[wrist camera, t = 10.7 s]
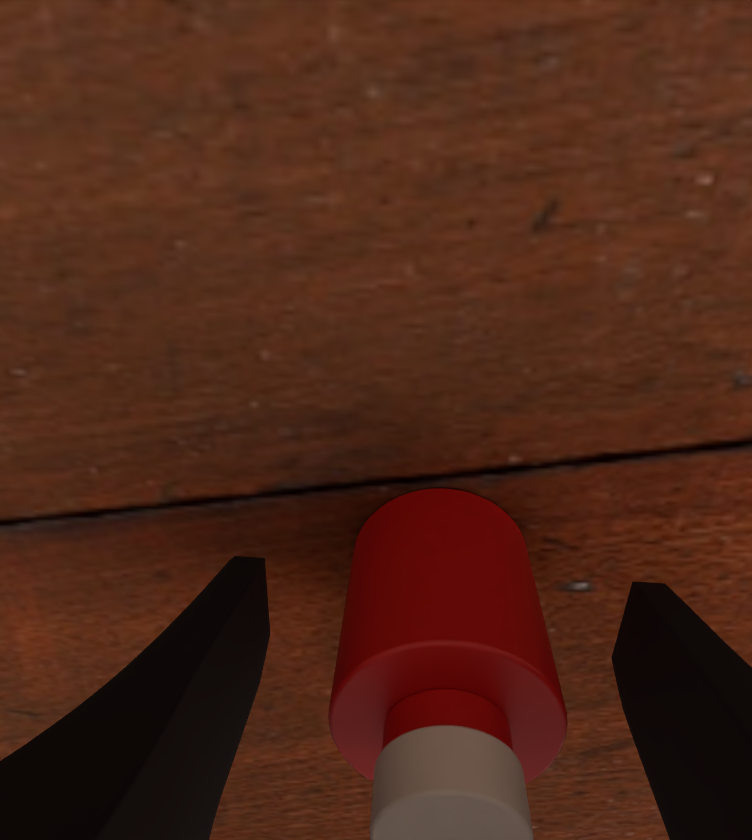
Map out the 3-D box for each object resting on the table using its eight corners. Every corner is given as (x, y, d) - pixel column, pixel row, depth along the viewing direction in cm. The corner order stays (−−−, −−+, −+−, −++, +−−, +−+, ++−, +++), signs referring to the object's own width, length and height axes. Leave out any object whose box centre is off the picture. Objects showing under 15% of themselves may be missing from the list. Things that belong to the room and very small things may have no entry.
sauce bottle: (538, 491, 12) (624, 764, 7) (515, 628, 14) (570, 930, 9) (354, 481, 13) (307, 739, 7) (353, 617, 14) (313, 906, 9)
